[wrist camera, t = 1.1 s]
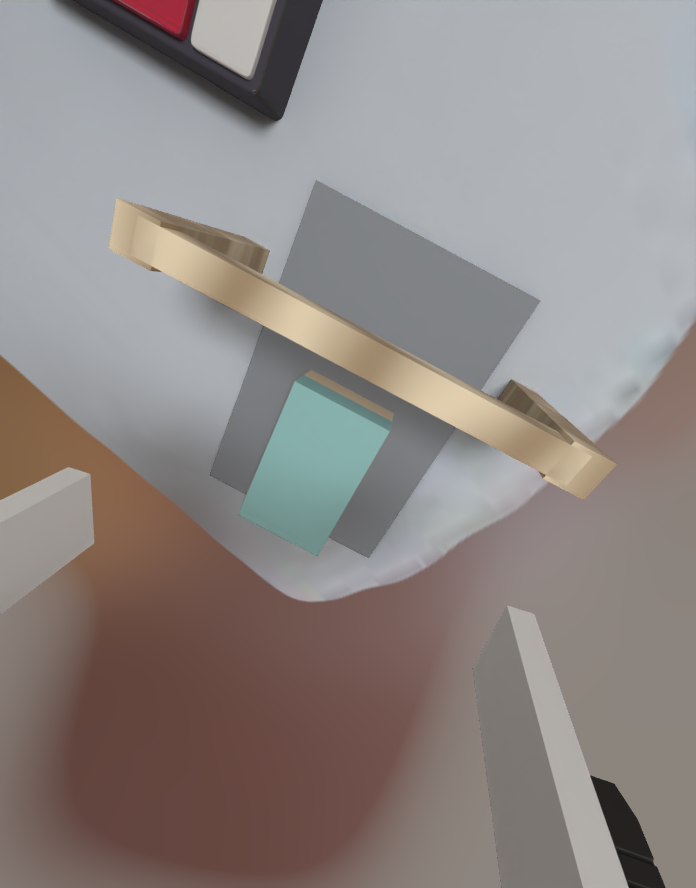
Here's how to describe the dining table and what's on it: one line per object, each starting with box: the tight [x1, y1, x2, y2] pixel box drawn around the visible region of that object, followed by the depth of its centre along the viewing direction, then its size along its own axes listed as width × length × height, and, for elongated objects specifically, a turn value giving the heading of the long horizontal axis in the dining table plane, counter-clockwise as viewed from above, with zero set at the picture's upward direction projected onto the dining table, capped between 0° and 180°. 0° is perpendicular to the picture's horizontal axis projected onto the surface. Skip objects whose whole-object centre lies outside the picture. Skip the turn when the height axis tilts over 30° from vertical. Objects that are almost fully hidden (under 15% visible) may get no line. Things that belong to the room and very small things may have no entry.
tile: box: [238, 370, 394, 556], centre depth 29 cm, size 7×12×4 cm, turn 154°
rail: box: [108, 198, 617, 500], centre depth 21 cm, size 23×2×12 cm, turn 64°
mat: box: [210, 180, 540, 558], centre depth 29 cm, size 16×24×1 cm, turn 154°
